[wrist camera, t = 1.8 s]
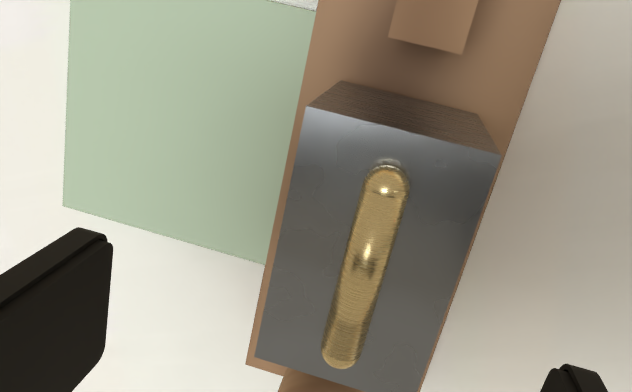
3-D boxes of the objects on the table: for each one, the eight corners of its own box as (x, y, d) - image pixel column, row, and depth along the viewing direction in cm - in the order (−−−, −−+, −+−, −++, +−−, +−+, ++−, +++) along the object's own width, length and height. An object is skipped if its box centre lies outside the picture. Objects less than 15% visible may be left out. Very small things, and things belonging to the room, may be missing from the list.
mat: (341, 17, 21) (339, 17, 21) (286, 266, 26) (284, 270, 25) (79, -44, 23) (72, -45, 22) (68, 202, 27) (62, 205, 27)
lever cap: (477, 113, 18) (507, 165, 12) (414, 303, 21) (411, 428, 15) (340, 80, 19) (298, 111, 12) (297, 269, 22) (244, 375, 15)
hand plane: (559, -49, 19) (645, -92, 12) (411, 374, 26) (407, 513, 19) (352, -92, 20) (310, -158, 13) (263, 329, 27) (203, 445, 20)
